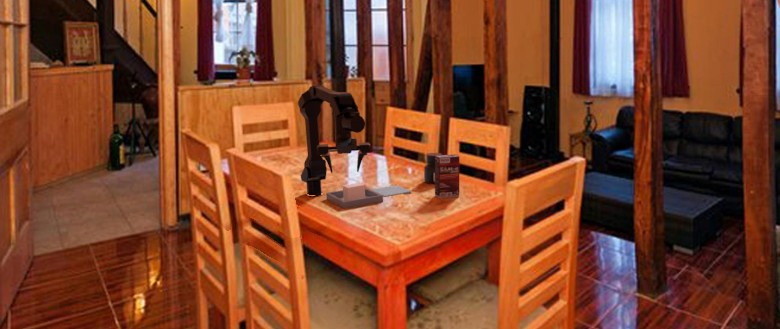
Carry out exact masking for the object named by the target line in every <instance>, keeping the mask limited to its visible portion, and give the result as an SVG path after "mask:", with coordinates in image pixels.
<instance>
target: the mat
mask: <svg viewBox="0 0 780 329" xmlns="http://www.w3.org/2000/svg"><path fill="white" fill-rule="evenodd" d="M370 190H372V191H374V192H376V193H379V194H381V195H383V198H384V197H385V198H386V197H390V196H396V195H408V194H409V195H410V194H412V191H411V190H409V189H407V188H404V187H402V186H400V185H397V184H396V185H390V186H389V185H388V186H384V187H383V186H382V187H379V188H372V189H370Z"/></svg>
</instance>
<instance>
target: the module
mask: <svg viewBox="0 0 780 329" xmlns="http://www.w3.org/2000/svg"><path fill="white" fill-rule="evenodd" d="M365 188H366V185H365V184H363V183H361V182H355V183H349V184H343V185H342V190H343V198H344V201H350V200H355V199H361V198H365Z"/></svg>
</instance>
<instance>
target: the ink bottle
mask: <svg viewBox="0 0 780 329" xmlns="http://www.w3.org/2000/svg"><path fill="white" fill-rule="evenodd" d="M425 155H426V160H425V161H426V165H424V167H423V171H424V172H423V174H424V176H423V180H424V183H426V184H431V185H432V184H433V185H435V156H441V155H443V153H441V152H429V153H426V154H425Z"/></svg>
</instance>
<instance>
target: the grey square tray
mask: <svg viewBox="0 0 780 329" xmlns="http://www.w3.org/2000/svg"><path fill="white" fill-rule="evenodd" d="M325 196H326V200H327V199H328V200H327V201H329V200H330V201H329V202H331V203H332V202H333V204H334V203H335V204H334V205H336V206H338V207H340V208H341V209H344V210H347V209H352V208H358V207H363V206H368V205H375V204H380V203H383V202H384V196H383V195H381V194H379V193H376V192H374V191H372V190H371V189H370V188H367V187H365V198H361V199H355V200H350V201H344V198H343V189H342V190H341V189H340V190H337V191H336V190H335V191H330V192H326V193H325Z"/></svg>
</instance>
